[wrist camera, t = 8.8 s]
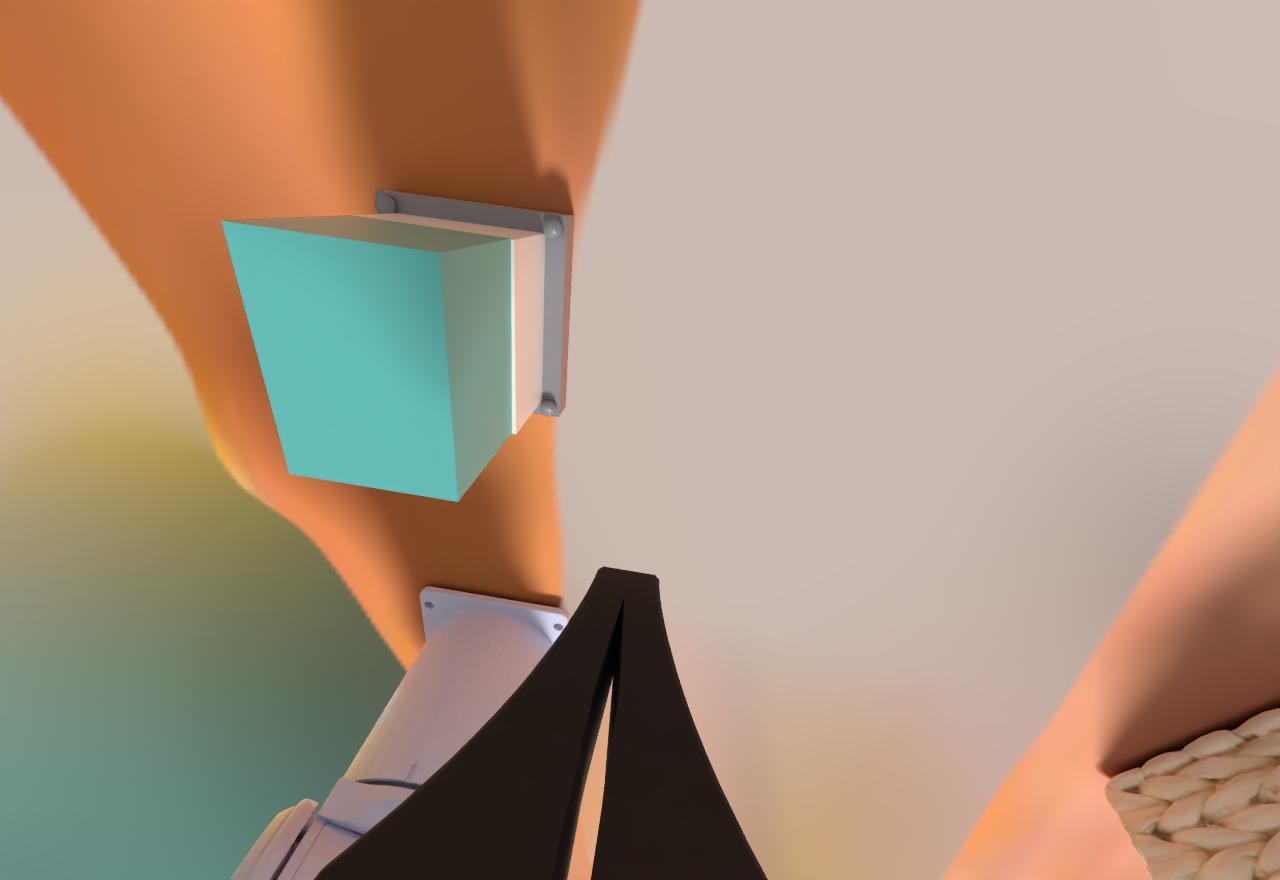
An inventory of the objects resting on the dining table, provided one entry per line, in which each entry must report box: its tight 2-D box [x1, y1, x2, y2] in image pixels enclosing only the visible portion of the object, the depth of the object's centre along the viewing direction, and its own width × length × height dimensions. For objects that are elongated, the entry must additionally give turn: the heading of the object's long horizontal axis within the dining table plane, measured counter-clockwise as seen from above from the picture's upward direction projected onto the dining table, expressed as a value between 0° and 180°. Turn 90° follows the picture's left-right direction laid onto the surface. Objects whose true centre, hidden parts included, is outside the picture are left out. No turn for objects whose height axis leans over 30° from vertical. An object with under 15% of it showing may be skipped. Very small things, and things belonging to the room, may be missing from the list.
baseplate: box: [375, 190, 574, 417], centre depth 17 cm, size 7×6×1 cm
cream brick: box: [343, 213, 545, 434], centre depth 16 cm, size 6×5×3 cm
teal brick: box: [221, 215, 512, 502], centre depth 12 cm, size 6×4×4 cm
